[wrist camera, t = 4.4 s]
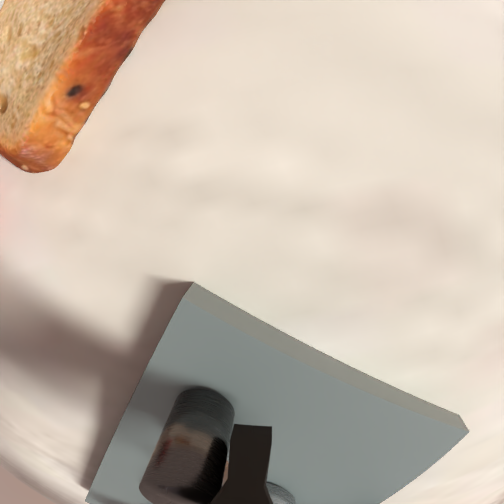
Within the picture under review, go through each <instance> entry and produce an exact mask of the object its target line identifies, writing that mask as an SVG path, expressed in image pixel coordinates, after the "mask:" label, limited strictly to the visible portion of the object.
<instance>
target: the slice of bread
mask: <svg viewBox="0 0 504 504" xmlns="http://www.w3.org/2000/svg"><path fill="white" fill-rule="evenodd" d="M164 1H165V0H5V1H4V4H3V6H2V8H1V10H0V154H1V155H2V156H3V157H5V158H6V159H7V160H9V161H10V162H11V163H13V164H14V165H15V166H17V167H18V168H20V169H22V170H24V171H27V172H30V173H39V172H45V171H49V170H52V169H54V168H55V167H57V166H58V165H59V164H60V162H61V161H62V160H63V159H64V157H65V156H66V155H67V153H68V152H69V151H70V149H71V147H72V144H73V142H74V139H75V137H76V135H77V134H78V132H79V131H80V130H81V128H82V127H83V126H84V124H85V123H86V121H87V119H88V118H89V116H90V114H91V112H92V111H93V109H94V107H95V106H96V104H97V103H98V101H99V100H100V99H101V97H102V96H103V95H104V93H105V92H106V91H107V90H108V88H109V86H110V84H111V82H112V80H113V78H114V76H115V74H116V72H117V71H118V69H119V67H120V66H121V65H122V63H123V62H124V61H125V59H126V58H127V57H128V55H129V54H130V53H131V51H132V50H133V48H134V46H135V44H136V42H137V40H138V38H139V36H140V34H141V32H142V31H143V30H144V28H145V27H146V26H147V25H148V23H149V22H150V21H151V20H152V19H153V18H154V16H155V15H156V14H157V12H158V10H159V9H160V7H161V5H162V4H163V2H164Z"/></svg>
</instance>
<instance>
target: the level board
mask: <svg viewBox="0 0 504 504" xmlns="http://www.w3.org/2000/svg"><path fill="white" fill-rule="evenodd" d="M193 388H202V389H208V390H211V391H214V392H217V393H219V394H220V395H222V396H224V397H225V398H226V399H227V400H228V401H229V402H230V403H231V404H232V406H233V408H234V411H235V417H234V422H233V426H234V424H243V425H253V426H254V425H257V426H272V446H271V454H270V461H269V468H268V476H267V483H269V484H273V485H276V486H279V487H281V488H283V489H285V490H287V491H289V492H290V493H291V494H292V495H293V496H294V497H295V500H296V504H380V503H381V502H383V501H384V500H386V499H387V498H389V497H390V496H392V495H393V494H395V493H396V492H398V491H399V490H401V489H402V488H403V487H405V486H406V485H408V484H409V483H410V482H412V481H413V480H414V479H416V478H417V477H418V476H420V475H421V474H422V473H423V472H425V471H426V470H427V469H428V468H430V467H431V466H432V465H433V464H435V463H436V462H437V461H438V460H439V459H441V458H442V457H443V456H444V455H445V454H446V453H447V452H449V451H450V450H451V449H452V448H453V447H454V446H455V445H456V444H457V443H458V442H459V441H460V440H462V439H463V438H464V437H465V436H466V435H467V434H468V433H469V430H468V429H467V427H466V425H465V424H464V422H463V420H462V419H461V417H460V416H459V415H457V414H455V413H453V412H450V411H448V410H445V409H443V408H440V407H438V406H436V405H433V404H431V403H429V402H426V401H424V400H422V399H420V398H417V397H415V396H413V395H410V394H408V393H406V392H404V391H402V390H399V389H397V388H395V387H393V386H391V385H388V384H386V383H384V382H382V381H380V380H378V379H375V378H373V377H371V376H369V375H367V374H365V373H363V372H361V371H359V370H357V369H355V368H352V367H350V366H348V365H346V364H344V363H342V362H340V361H338V360H336V359H334V358H332V357H330V356H328V355H326V354H324V353H322V352H320V351H318V350H316V349H314V348H312V347H310V346H309V345H307V344H305V343H303V342H301V341H299V340H297V339H295V338H293V337H291V336H289V335H287V334H286V333H284V332H282V331H280V330H278V329H276V328H274V327H272V326H271V325H269V324H267V323H265V322H263V321H261V320H260V319H258V318H256V317H254V316H252V315H250V314H249V313H247V312H245V311H243V310H241V309H240V308H238V307H236V306H234V305H233V304H231V303H229V302H227V301H225V300H224V299H222V298H220V297H218V296H217V295H215V294H213V293H212V292H210V291H208V290H206V289H205V288H203V287H201V286H200V285H198V284H196V283H193V284H192V285H191V287H190V288H189V289H188V291H187V292H186V293H185V295H184V296H183V297H182V299H181V301H180V303H179V305H178V307H177V309H176V311H175V313H174V314H173V316H172V318H171V320H170V322H169V324H168V326H167V328H166V330H165V332H164V334H163V336H162V338H161V340H160V341H159V343H158V345H157V347H156V349H155V351H154V353H153V355H152V357H151V359H150V361H149V363H148V365H147V367H146V369H145V371H144V373H143V375H142V377H141V379H140V381H139V383H138V385H137V387H136V390H135V392H134V394H133V396H132V398H131V400H130V402H129V404H128V406H127V408H126V410H125V412H124V415H123V417H122V419H121V421H120V423H119V425H118V427H117V429H116V432H115V434H114V436H113V438H112V440H111V442H110V445H109V447H108V449H107V451H106V453H105V456H104V458H103V460H102V462H101V465H100V467H99V469H98V471H97V474H96V476H95V478H94V481H93V483H92V485H91V488H90V490H89V492H88V495H87V497H86V499H85V501H86V502H88V503H89V504H153V503H151V502H150V501H148V500H147V499H146V498H145V497H144V496H143V495H142V494H141V492H140V490H139V484H140V482H141V480H142V477H143V475H144V473H145V470H146V468H147V465H148V463H149V461H150V458H151V456H152V454H153V451H154V449H155V447H156V444H157V442H158V440H159V437H160V435H161V433H162V430H163V428H164V426H165V423H166V421H167V419H168V416H169V414H170V412H171V409H172V407H173V405H174V402H175V400H176V398H177V396H178V395H179V394H180V393H181V392H183V391H185V390H188V389H193ZM232 430H233V428H232Z"/></svg>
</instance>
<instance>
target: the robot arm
mask: <svg viewBox="0 0 504 504" xmlns="http://www.w3.org/2000/svg"><path fill="white" fill-rule="evenodd" d="M271 446H272V426H257V425H254V426H253V425H243V424H234V426H233V430H232V434H231V438H230V448H229V463H228V479H227V480H226V482H225V483H224V485H223V486H222V488H221V489H220V491H219V492H218V494H217V495H216V496H215V498H214V499H213V500H212V501H211V503H210V504H273V502H272V499H271V497H270V494H269V492H268V489H267V486H266V483H267V476H268V468H269V461H270V454H271Z"/></svg>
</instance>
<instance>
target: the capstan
mask: <svg viewBox="0 0 504 504" xmlns="http://www.w3.org/2000/svg"><path fill="white" fill-rule="evenodd" d="M234 417H235V411H234V408H233V406H232V404H231V403H230V402H229V401H228V400H227V399H226V398H225V397H224V396H222V395H220V394H219V393H217V392H214V391H211V390H208V389H202V388H193V389H188V390H185V391H183V392H181V393H180V394H179V395H178V396H177V398H176V400H175V402H174V405H173V407H172V409H171V412H170V414H169V416H168V419H167V421H166V423H165V426H164V428H163V430H162V433H161V435H160V437H159V440H158V442H157V444H156V447H155V449H154V451H153V454H152V456H151V458H150V461H149V463H148V465H147V468H146V470H145V473H144V475H143V477H142V480H141V482H140V484H139V490H140V492H141V494H142V495H143V496H144V497H145V498H146V499H147V500H148V501H150V502H151V503H153V504H210V503H211V501H212V500H213V499H214V498H215V496H216V495H217V494H218V492H219V491H220V489H221V488H222V486H223V485H224V483H225V482H226V480H227V479H228V463H229V448H230V438H231V434H232V428H233V422H234ZM266 486H267V489H268V492H269V494H270V497H271V499H272V502H273V504H296V500H295V497H294V496H293V495H292V494H291V493H290V492H289V491H287V490H285V489H283V488H281V487H279V486H276V485H273V484H269V483H266Z"/></svg>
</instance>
